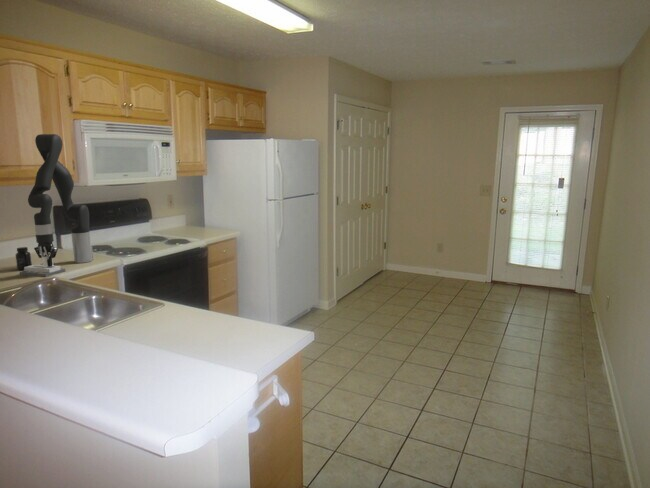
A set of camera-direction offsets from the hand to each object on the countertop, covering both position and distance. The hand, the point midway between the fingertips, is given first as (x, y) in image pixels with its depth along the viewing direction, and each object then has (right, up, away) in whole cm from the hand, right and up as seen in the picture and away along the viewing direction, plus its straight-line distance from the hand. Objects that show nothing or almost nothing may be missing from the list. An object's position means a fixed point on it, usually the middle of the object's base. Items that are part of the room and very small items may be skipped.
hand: (48, 265), depth 232 cm
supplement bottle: (-20, -3, +11) cm, 23 cm away
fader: (0, -2, 0) cm, 2 cm away
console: (-4, -4, +2) cm, 6 cm away
